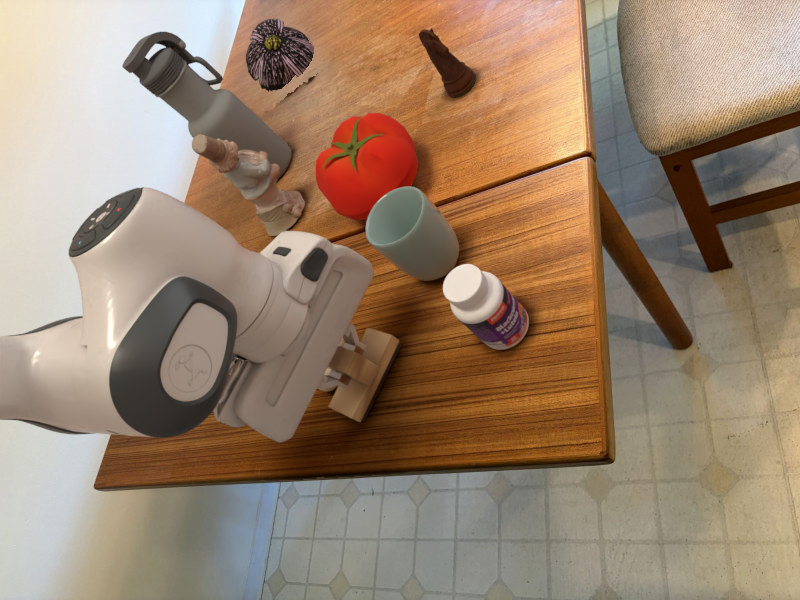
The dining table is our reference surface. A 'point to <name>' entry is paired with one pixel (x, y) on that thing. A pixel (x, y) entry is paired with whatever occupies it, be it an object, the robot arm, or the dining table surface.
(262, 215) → the figurine
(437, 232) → the cup
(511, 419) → the dining table surface
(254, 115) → the water bottle
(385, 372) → the brush
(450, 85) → the chess piece
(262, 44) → the decorative flower
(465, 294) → the pill bottle
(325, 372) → the crumb
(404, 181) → the tomato
